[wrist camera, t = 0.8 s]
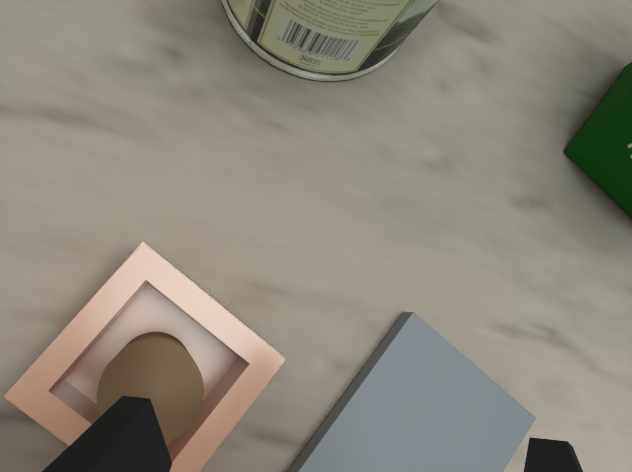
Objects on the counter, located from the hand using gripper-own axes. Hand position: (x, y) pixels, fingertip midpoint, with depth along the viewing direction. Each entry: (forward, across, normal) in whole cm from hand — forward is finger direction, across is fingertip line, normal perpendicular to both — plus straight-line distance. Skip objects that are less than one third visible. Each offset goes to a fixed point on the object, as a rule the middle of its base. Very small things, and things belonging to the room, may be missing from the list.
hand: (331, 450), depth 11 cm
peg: (+9, +10, +8) cm, 15 cm away
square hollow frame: (+9, +10, +8) cm, 16 cm away
